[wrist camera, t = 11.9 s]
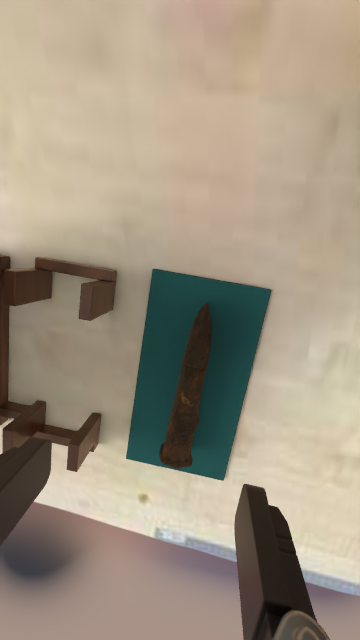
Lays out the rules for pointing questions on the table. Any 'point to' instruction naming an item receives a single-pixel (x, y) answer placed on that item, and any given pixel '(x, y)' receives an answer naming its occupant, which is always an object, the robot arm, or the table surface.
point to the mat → (221, 375)
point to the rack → (5, 290)
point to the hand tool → (188, 394)
